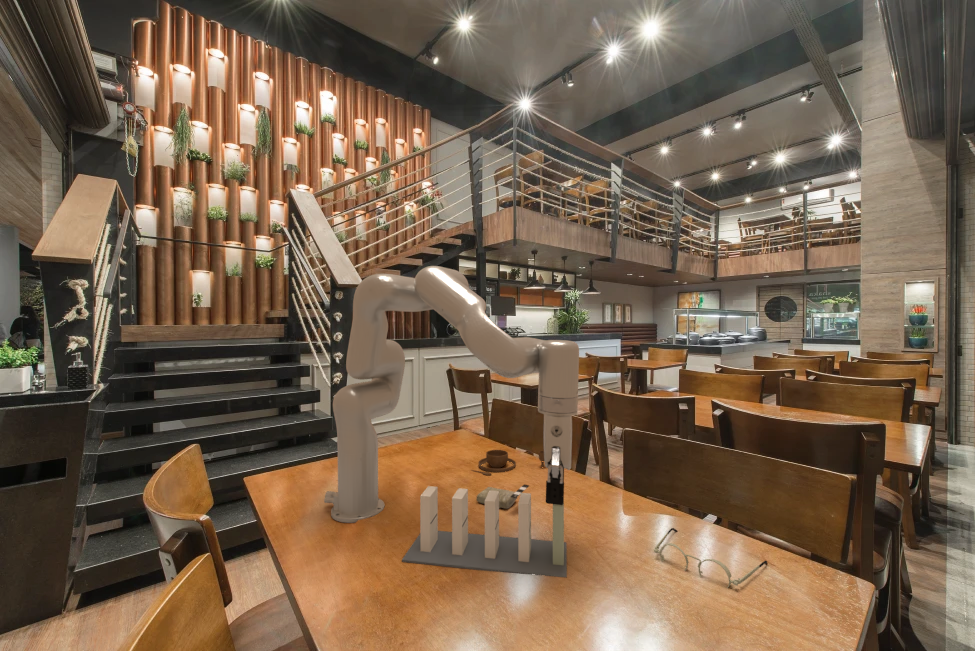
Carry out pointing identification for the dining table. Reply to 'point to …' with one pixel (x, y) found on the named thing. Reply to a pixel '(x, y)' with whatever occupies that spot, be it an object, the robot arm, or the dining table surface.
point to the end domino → (558, 534)
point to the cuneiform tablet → (502, 496)
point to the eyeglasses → (705, 560)
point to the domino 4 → (524, 527)
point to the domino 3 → (491, 524)
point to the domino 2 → (459, 521)
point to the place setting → (500, 461)
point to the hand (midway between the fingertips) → (555, 492)
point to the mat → (476, 558)
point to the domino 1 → (429, 518)
